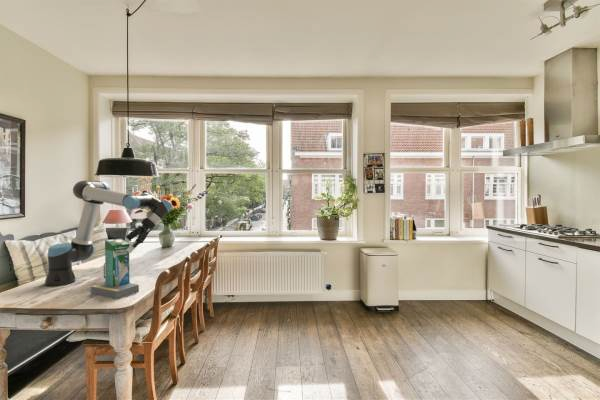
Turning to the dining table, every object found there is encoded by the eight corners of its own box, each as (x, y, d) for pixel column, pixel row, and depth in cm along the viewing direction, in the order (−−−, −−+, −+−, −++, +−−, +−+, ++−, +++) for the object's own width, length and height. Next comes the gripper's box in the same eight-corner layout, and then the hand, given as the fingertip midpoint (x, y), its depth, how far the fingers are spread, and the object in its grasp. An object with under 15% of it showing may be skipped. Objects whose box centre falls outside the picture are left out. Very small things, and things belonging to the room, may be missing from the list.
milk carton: (113, 286, 182) (112, 241, 181) (105, 283, 187) (104, 240, 186) (129, 283, 189) (129, 239, 189) (121, 280, 195) (121, 238, 194)
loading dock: (91, 294, 182) (90, 286, 182) (114, 287, 194) (114, 279, 194) (116, 299, 174) (116, 291, 174) (138, 291, 186) (138, 284, 186)
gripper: (164, 227, 189) (137, 257, 179) (147, 223, 207) (121, 250, 197) (155, 218, 185) (126, 248, 175) (138, 215, 203) (111, 242, 192)
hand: (123, 249), depth 186 cm, fingers open, 13 cm apart
